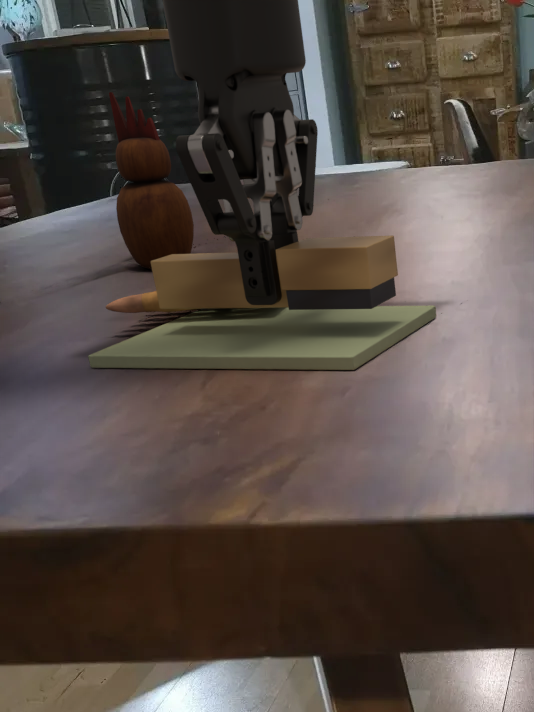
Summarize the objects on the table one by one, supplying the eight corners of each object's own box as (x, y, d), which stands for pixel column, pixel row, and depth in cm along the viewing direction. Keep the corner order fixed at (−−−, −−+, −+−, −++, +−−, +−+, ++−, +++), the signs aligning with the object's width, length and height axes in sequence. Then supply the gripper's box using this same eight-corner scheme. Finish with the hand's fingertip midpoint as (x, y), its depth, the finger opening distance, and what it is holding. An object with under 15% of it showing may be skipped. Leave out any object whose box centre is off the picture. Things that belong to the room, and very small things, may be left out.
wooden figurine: (117, 271, 104) (78, 94, 97) (164, 260, 108) (130, 90, 101) (164, 273, 101) (127, 90, 94) (211, 262, 105) (179, 86, 98)
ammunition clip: (267, 273, 73) (97, 293, 75) (272, 302, 74) (103, 322, 75) (305, 270, 83) (154, 288, 85) (309, 296, 84) (159, 313, 85)
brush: (151, 312, 71) (139, 253, 69) (187, 298, 74) (177, 242, 73) (373, 309, 66) (366, 246, 64) (400, 295, 70) (394, 235, 68)
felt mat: (90, 368, 69) (87, 355, 68) (205, 318, 80) (203, 307, 80) (354, 370, 63) (352, 356, 63) (436, 317, 75) (435, 305, 74)
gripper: (224, -30, 55) (279, 322, 63) (340, -20, 67) (373, 277, 75) (97, -16, 57) (166, 323, 65) (230, -8, 69) (275, 279, 77)
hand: (276, 297), depth 70 cm, fingers closed on brush, 2 cm apart
